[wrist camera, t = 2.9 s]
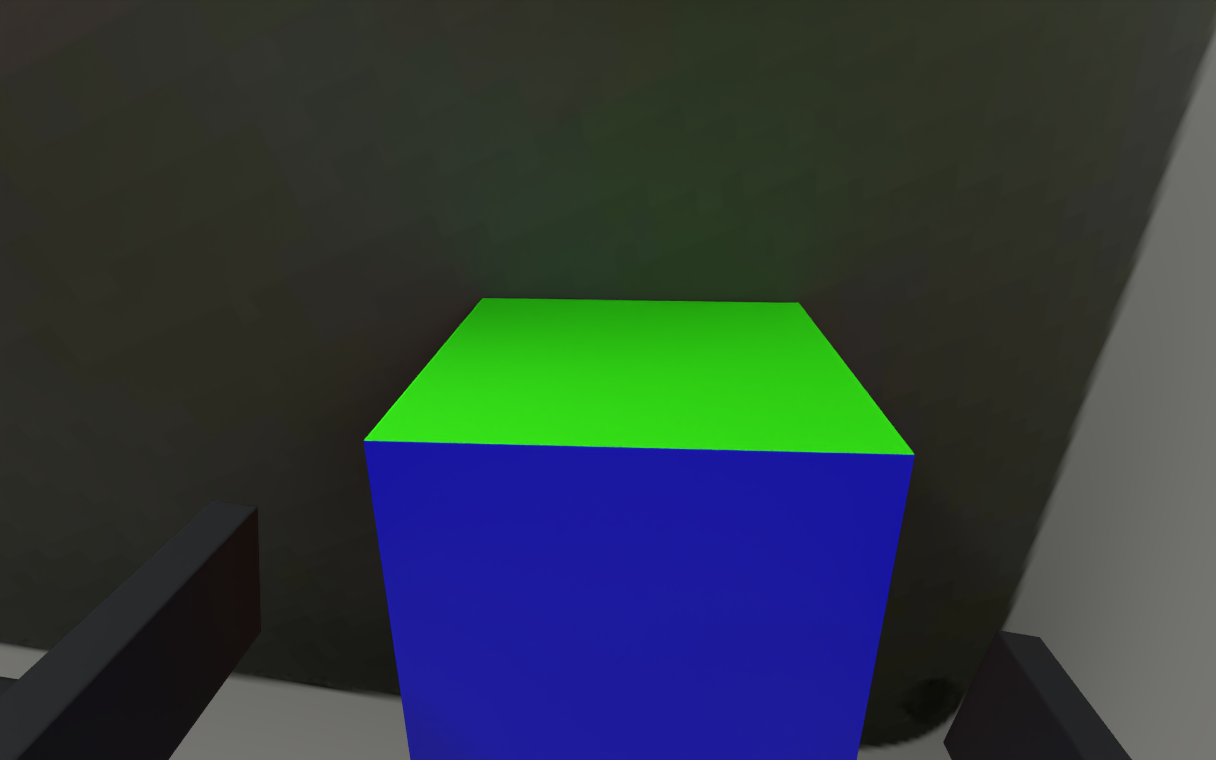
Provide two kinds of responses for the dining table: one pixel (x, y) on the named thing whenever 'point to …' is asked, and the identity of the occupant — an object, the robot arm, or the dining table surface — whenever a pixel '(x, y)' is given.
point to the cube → (636, 535)
